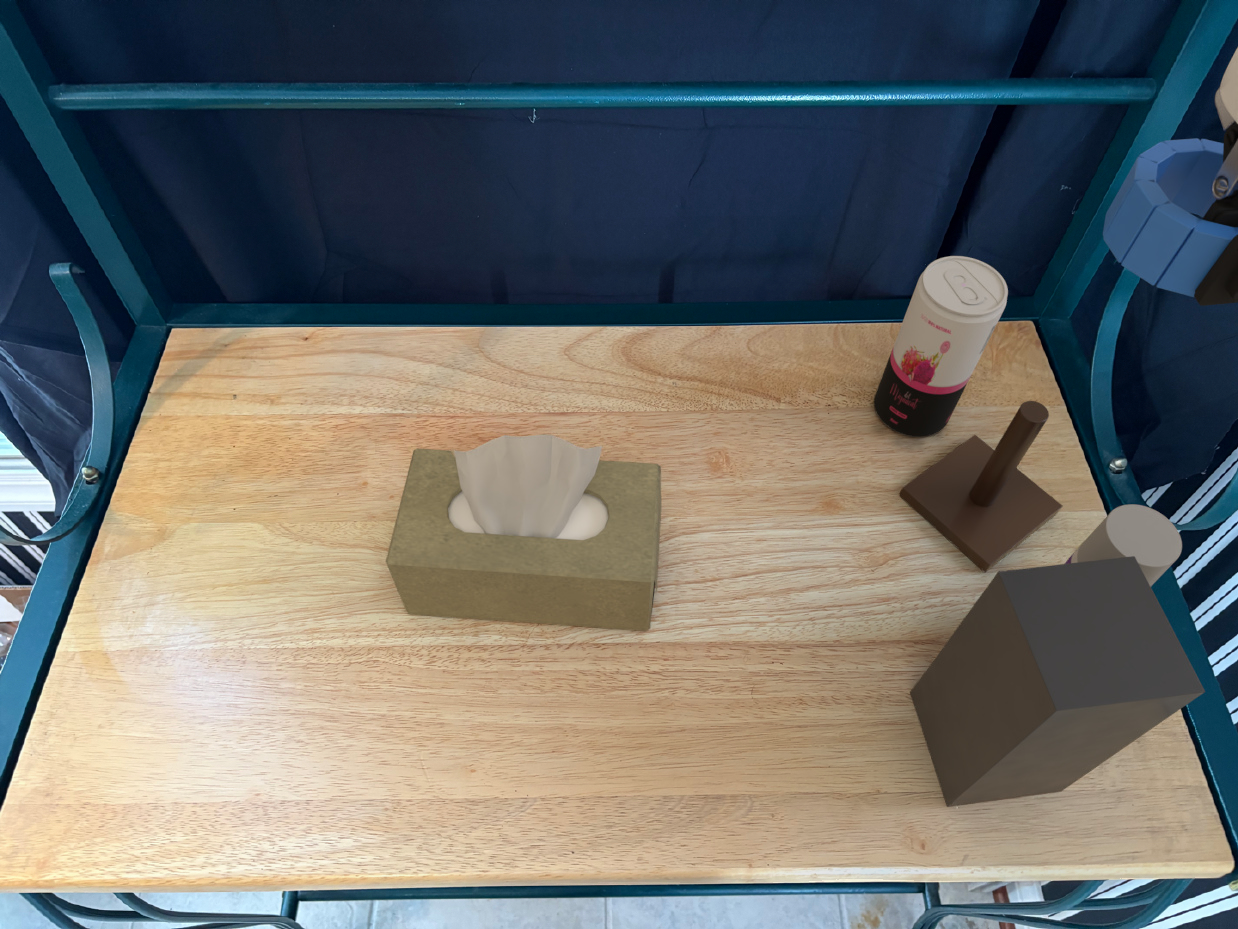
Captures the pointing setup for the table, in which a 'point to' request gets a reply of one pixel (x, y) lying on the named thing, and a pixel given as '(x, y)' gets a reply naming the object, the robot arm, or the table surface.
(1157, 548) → the container
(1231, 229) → the ring
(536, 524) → the tissue box
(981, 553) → the stand
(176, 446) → the table surface
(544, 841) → the table surface
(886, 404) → the beverage can
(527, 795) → the table surface
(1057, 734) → the pedestal
